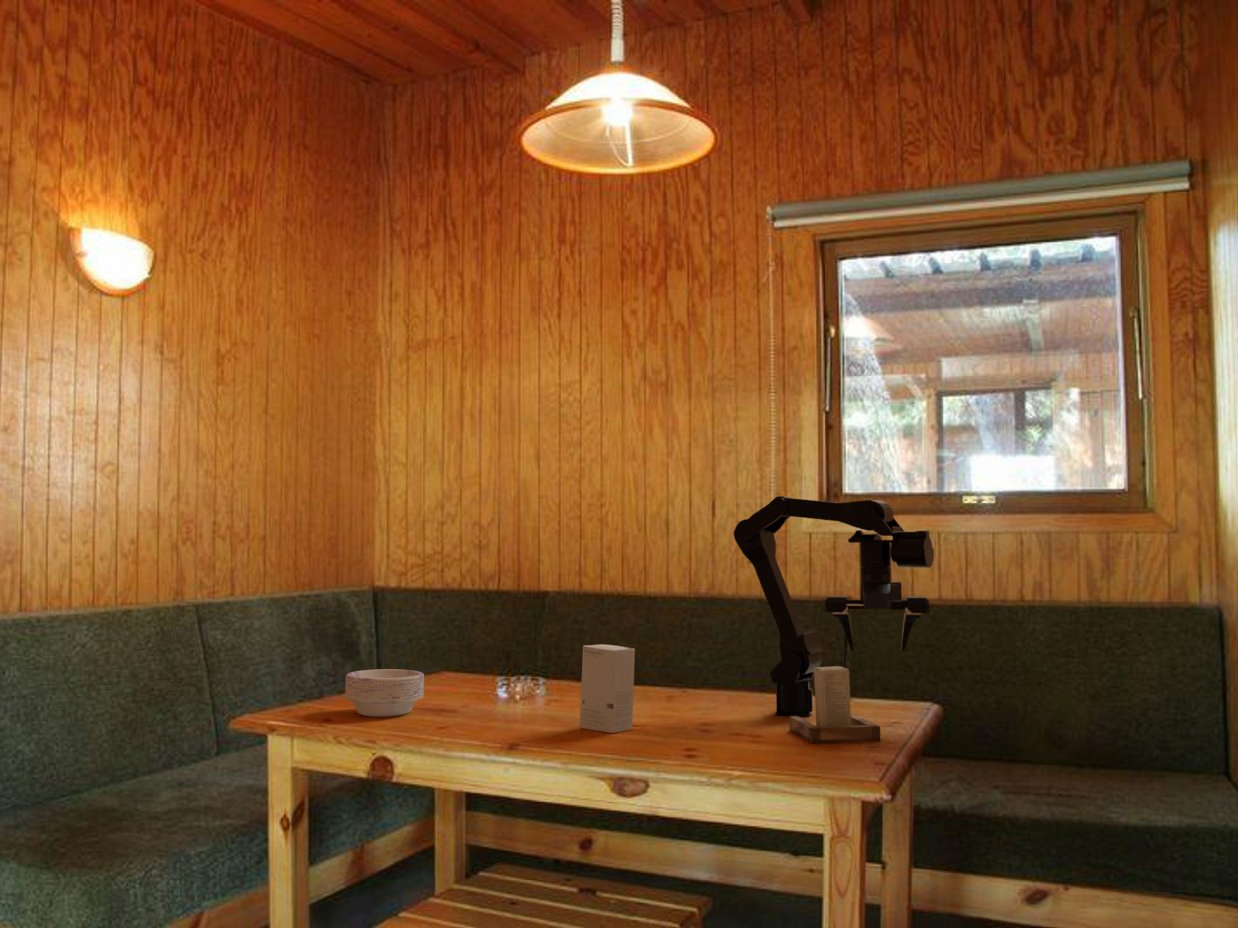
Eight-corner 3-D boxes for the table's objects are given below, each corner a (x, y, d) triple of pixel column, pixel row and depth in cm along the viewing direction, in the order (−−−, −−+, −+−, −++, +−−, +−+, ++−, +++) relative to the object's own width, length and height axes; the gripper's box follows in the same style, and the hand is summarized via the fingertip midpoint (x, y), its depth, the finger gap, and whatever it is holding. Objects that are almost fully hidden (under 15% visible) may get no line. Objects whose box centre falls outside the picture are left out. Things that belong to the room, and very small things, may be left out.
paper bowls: (439, 712, 207) (439, 671, 207) (374, 723, 195) (375, 680, 196) (393, 704, 217) (393, 665, 217) (329, 714, 205) (330, 673, 206)
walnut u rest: (789, 730, 186) (789, 716, 186) (853, 728, 187) (853, 713, 188) (812, 743, 174) (811, 728, 174) (880, 741, 176) (880, 726, 176)
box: (842, 729, 183) (841, 665, 184) (852, 733, 179) (850, 668, 180) (814, 730, 182) (813, 666, 183) (822, 735, 178) (821, 669, 179)
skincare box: (579, 728, 189) (578, 645, 190) (601, 723, 193) (600, 642, 194) (614, 734, 183) (614, 648, 184) (636, 729, 188) (635, 645, 189)
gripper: (823, 568, 190) (825, 655, 189) (930, 568, 186) (933, 657, 185) (825, 566, 200) (826, 648, 199) (926, 566, 196) (928, 650, 195)
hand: (877, 651), depth 194 cm, fingers open, 9 cm apart
